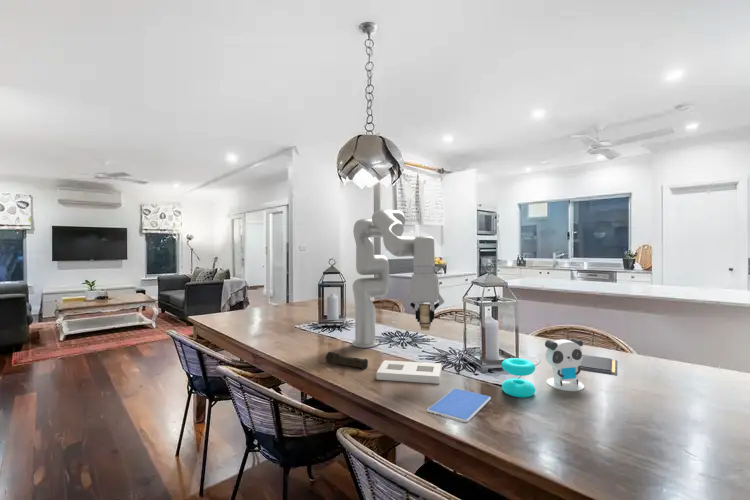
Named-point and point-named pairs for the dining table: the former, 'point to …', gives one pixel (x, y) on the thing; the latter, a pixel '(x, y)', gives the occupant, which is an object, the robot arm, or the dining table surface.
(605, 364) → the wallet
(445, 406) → the tablet computer
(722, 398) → the dining table surface
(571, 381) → the panda figurine
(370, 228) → the robot arm
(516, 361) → the donuts
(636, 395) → the dining table surface
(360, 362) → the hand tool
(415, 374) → the hole board
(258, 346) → the dining table surface
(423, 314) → the oak peg
